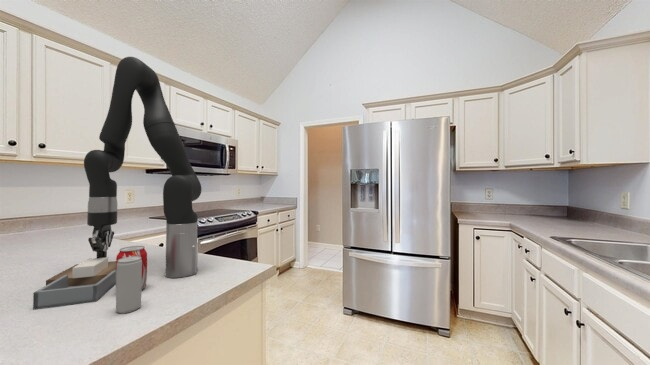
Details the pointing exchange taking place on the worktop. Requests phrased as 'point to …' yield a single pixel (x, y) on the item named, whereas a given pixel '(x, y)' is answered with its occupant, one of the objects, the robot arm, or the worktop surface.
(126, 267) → the grey cylinder
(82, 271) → the front tile
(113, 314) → the worktop surface
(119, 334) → the worktop surface
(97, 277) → the walnut board
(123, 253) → the soda can
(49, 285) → the grey tray
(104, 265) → the rear tile
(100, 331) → the worktop surface
